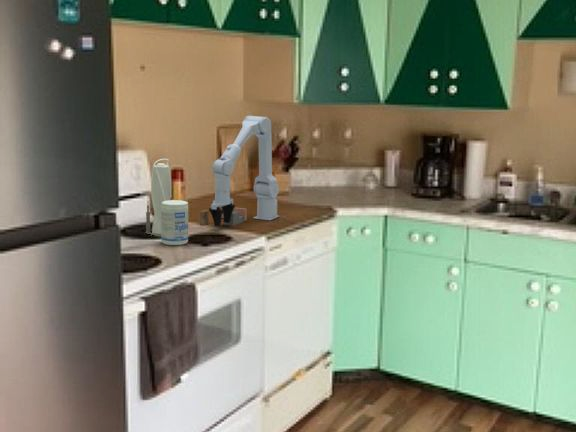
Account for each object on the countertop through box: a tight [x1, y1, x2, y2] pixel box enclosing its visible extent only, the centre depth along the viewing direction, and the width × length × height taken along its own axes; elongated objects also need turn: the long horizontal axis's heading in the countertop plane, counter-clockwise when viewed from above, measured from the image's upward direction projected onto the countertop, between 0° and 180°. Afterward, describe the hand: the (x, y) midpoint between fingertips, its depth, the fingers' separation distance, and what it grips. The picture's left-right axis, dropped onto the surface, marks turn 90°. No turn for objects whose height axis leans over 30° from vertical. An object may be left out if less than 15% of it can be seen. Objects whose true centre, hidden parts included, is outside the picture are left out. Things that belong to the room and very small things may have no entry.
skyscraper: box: [145, 158, 172, 238], centre depth 246 cm, size 8×8×28 cm
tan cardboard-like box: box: [199, 209, 209, 226], centre depth 273 cm, size 20×2×6 cm, turn 157°
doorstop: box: [223, 211, 245, 227], centre depth 270 cm, size 9×4×5 cm, turn 157°
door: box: [220, 206, 248, 222], centre depth 276 cm, size 11×1×5 cm, turn 67°
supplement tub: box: [160, 199, 189, 246], centre depth 234 cm, size 10×10×15 cm
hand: (222, 224), depth 261 cm, fingers open, 7 cm apart
